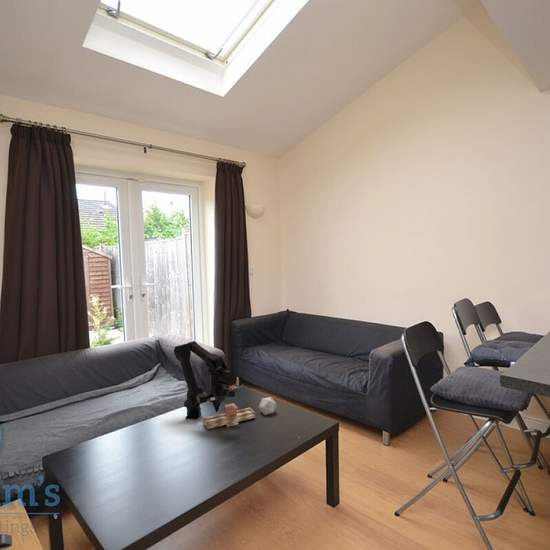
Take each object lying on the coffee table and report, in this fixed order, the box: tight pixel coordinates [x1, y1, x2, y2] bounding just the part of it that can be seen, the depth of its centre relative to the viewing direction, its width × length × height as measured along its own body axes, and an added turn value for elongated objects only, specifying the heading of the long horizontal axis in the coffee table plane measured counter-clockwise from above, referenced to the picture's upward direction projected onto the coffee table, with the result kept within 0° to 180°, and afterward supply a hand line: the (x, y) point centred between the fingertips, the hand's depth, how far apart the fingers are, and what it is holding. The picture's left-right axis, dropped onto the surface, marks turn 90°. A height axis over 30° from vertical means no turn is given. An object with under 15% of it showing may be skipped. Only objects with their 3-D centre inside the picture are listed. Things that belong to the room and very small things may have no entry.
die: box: [258, 396, 277, 416], centre depth 196 cm, size 8×9×10 cm
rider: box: [224, 403, 239, 417], centre depth 187 cm, size 5×6×5 cm
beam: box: [202, 406, 256, 430], centre depth 187 cm, size 26×10×4 cm, turn 117°
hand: (216, 411), depth 183 cm, fingers closed
